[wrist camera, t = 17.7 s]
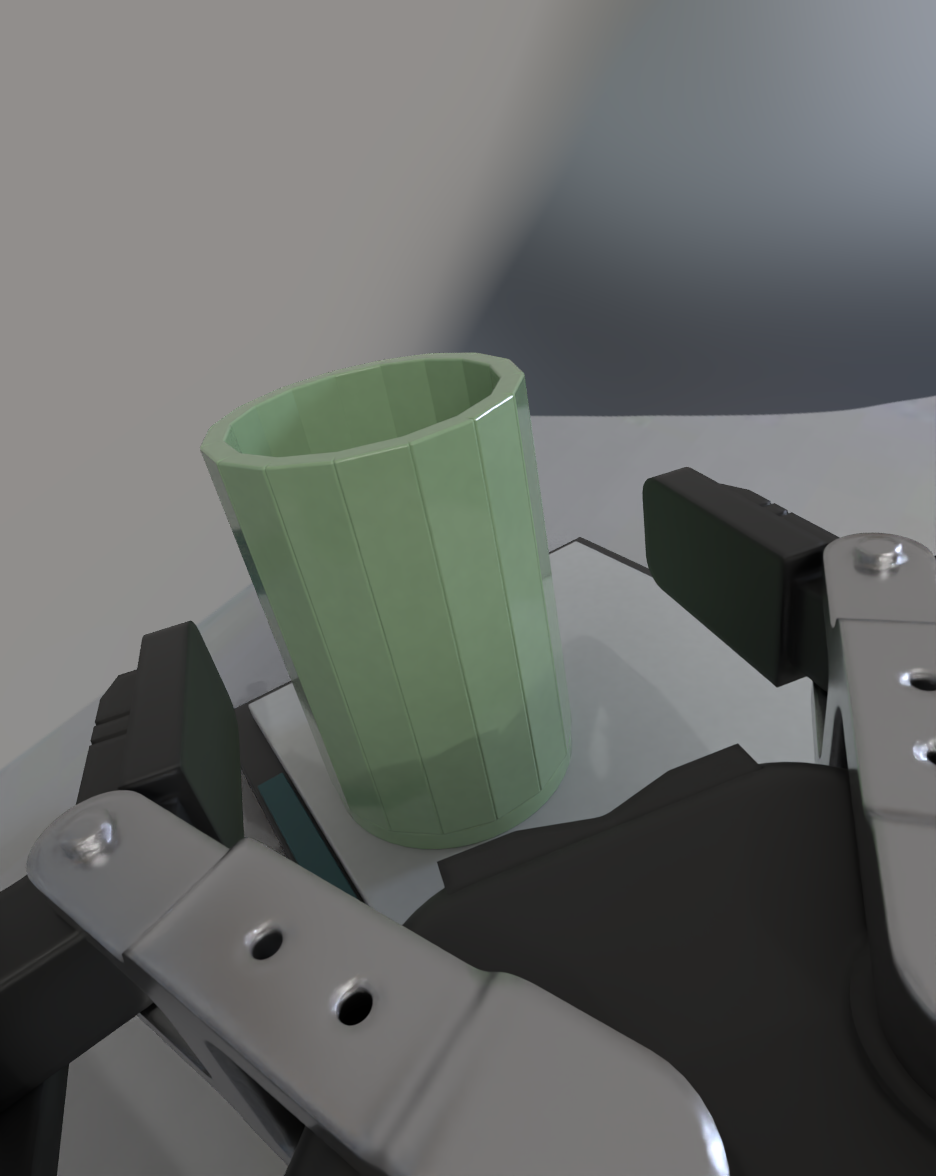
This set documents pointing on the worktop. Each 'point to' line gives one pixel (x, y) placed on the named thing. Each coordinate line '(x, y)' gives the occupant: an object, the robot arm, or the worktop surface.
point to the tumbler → (408, 587)
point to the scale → (599, 728)
